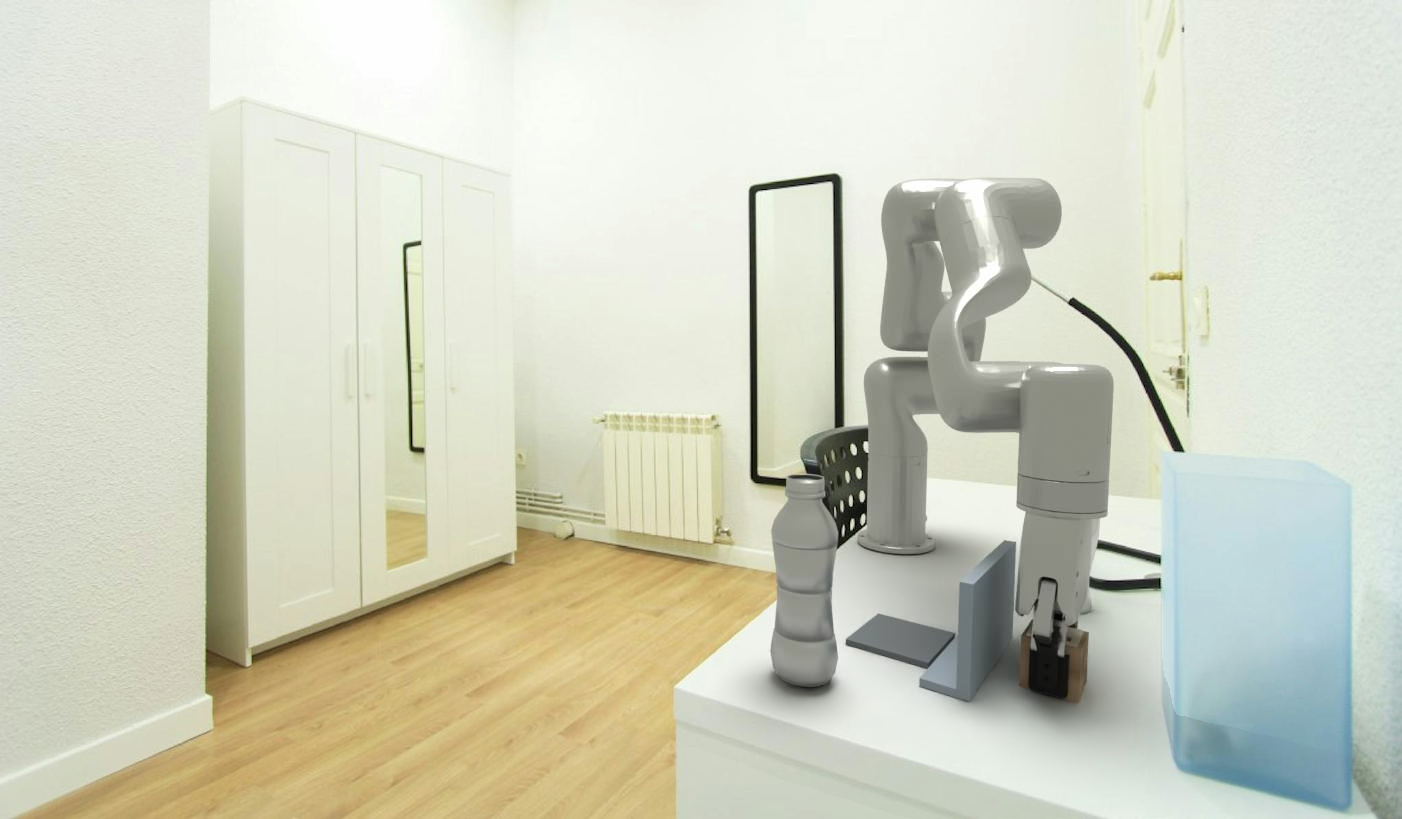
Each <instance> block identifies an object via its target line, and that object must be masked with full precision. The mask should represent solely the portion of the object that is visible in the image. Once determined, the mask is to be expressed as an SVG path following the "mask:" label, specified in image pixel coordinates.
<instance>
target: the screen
mask: <svg viewBox="0 0 1402 819" xmlns="http://www.w3.org/2000/svg"><path fill="white" fill-rule="evenodd" d="M1016 552H1017V542H1016V541H1013V540H1003V541H1002V542H1001V543H999V545H997V546H996V547H995V548H994V549H993V550H992V551H991V552H990V553H988V555H987V556H986V557H984V558H983V559H982V560H981V561H980V562H979V563H978V564H977V565H976V566H975V567H974V568H972V570H970V571H969V572H968V573H967V574H966V575H965V576H964V577H962V579H961V580H960V581H959V587H958V588H959V589H958V590H959V591H958V618H957V619H958V620H957V621H958V622H957V635H955V638H954V639H953V641H952V642H951V643H950V644H949V645H948V646H947V647H946V649H945V650H944V651H943V652H942V653H941V654H940V655H939V656H938V658H937V659H936V660H935V661H934V662H933V663H932V664H931V666H930V667H929V668H926V670H925V671H924V672H923V674H921V676H920V677H919V683H918V685H919V687H921V688H924V689H927V690H931V691H933V692H937V693H939V694H944V695H947V696H950V697H952V698H956V699H959V700H963V701H966V702H968V703H969V702H971V700H972V699H973V697H974V696H975V695H976V693H977V692H978V690H979V688H980V687H981V686H982V684H983V683H984V681H985V680H986V678H987V676H988V675H989V674H990V673H991V671H992V669H993V668H994V667H995V665H996V664H997V662H998V660H999V659H1000V658H1001V656H1002V654H1003V653H1004V651H1005V650H1006V649H1007V647H1008V646H1009V644H1010V642H1011V641H1012V640H1013V638H1014V634H1013V633H1014V611H1015V608H1014V606H1015V584H1016V581H1015V580H1016V559H1017V558H1016V555H1017V553H1016Z"/></svg>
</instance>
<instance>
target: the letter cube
mask: <svg viewBox="0 0 1402 819" xmlns="http://www.w3.org/2000/svg"><path fill="white" fill-rule="evenodd" d="M1032 626H1033V618H1032V619H1031V620H1030V621H1029V623H1028V625H1027V626H1026V627H1025V629H1024V631H1023V632H1022V633H1021V635H1020V646H1019V647H1020V649H1019V650H1020V651H1019V672H1018V674H1019V675H1018V687H1022V688H1023V689H1024V688H1025V689H1029V690H1032V689H1030V688H1029V686H1028V678H1029V653H1030V646H1031V636H1032ZM1059 631H1060V628H1058V627H1053V632H1055V633H1057V635H1058V637H1059ZM1089 636H1090V631H1085V630H1083V629H1079V628H1077V629H1075V628H1071V627H1068V634H1067V646H1066V655H1070V657H1069V679H1068V695H1067V697H1066V698H1064V699H1063V700H1067V701H1071V702H1073V703H1078V704H1080V701H1081V699H1082V695H1083V693H1084V691H1085V690H1084V689H1085V687H1086V684H1087V682H1088V660H1089V658H1088V657H1089V639H1090V638H1089ZM1058 641H1059V639H1058ZM1032 691H1033V690H1032Z"/></svg>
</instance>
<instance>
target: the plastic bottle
mask: <svg viewBox="0 0 1402 819" xmlns="http://www.w3.org/2000/svg"><path fill="white" fill-rule="evenodd" d="M785 480H786V482H785V484H786V485H785V488H786V489H785V490H784V495H785V496H786V497H787V501H786V502H785V504H784V505H783V506H782V508H781V509H780V510H779V512H778V513H777V514H776V516H775V518H774V520H773V523H772V525H771V530H770V532H771V541H772V552H773V556H774V563H775V564H774V565H775V579H776V580H775V581H776V608H775V616H774V617H775V619H774V628H773V631H772V636H771V642H770V651H769V652H770V657H771V663H772V668H773V670H775V673H776V674H777V675H778V677H779V678H780V679H781V680H783V681H784V682H786V683H787V684H791V685H794V686H797V687H798V686H799V687H804V688H813V687H821V686H823V685H825V684H827V683H829V682H830V680H832V678H833V677H834V675H835V674H836V671H837V670H836V669H837V666H838V660H839V656H838V655H839V652H838V646H837V639H836V634H835V631H834V618H833V615H834V614H833V602H832V600H833V598H832V597H833V589H832V588H833V581H834V568H835V561H836V556H837V549H838V542H839V531H838V527H837V523H836V522H835V519H834V517H833V516H832V514H831V512H830V511H829V510H828V508H827V507H826V506H825V504H824V503H823V499H824V498H826V490H825V484H826V483H825V476H823V475H819V474H813V473H794V474H793V473H791V474H788V475H787V476H786V479H785Z"/></svg>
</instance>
